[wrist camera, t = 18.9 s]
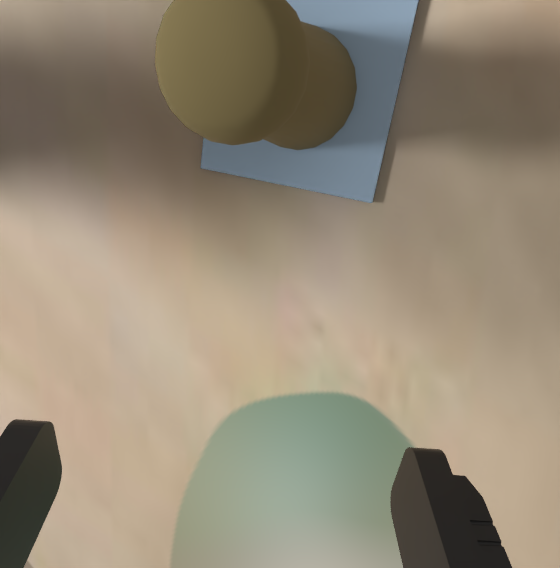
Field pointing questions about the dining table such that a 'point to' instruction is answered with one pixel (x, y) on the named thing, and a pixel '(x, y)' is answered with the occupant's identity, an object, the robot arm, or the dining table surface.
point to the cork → (253, 73)
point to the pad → (363, 118)
